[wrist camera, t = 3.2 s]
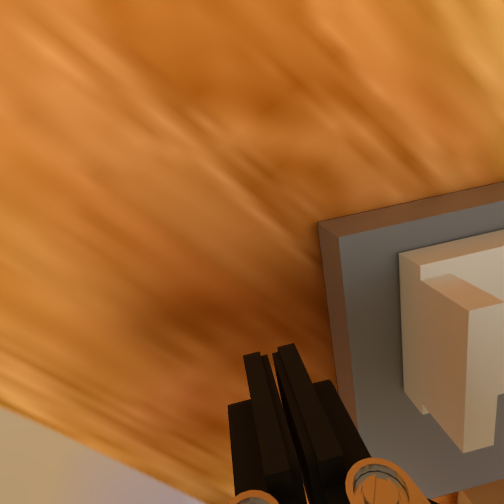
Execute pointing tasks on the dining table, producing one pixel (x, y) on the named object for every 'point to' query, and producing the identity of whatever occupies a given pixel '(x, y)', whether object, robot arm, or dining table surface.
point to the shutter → (455, 334)
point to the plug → (483, 494)
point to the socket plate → (400, 333)
